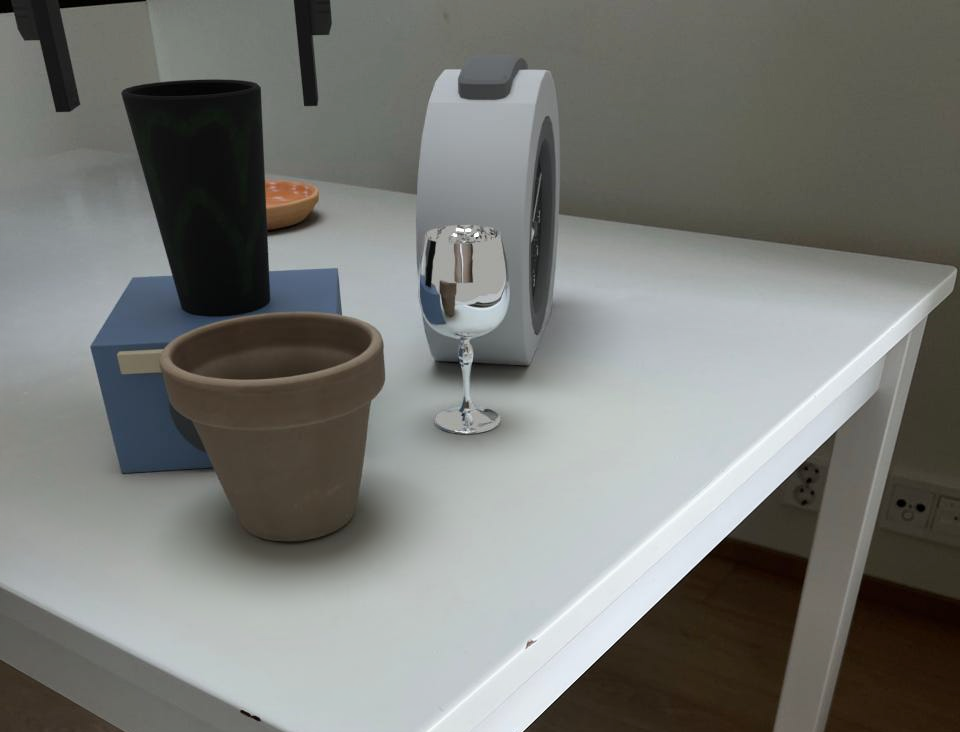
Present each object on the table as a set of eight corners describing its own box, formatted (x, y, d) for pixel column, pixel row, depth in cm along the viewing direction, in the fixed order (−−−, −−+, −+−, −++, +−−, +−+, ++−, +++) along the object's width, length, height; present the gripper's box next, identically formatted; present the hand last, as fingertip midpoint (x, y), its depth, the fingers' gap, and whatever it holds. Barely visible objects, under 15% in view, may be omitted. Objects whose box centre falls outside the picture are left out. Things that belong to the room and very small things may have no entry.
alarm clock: (521, 385, 72) (524, 73, 61) (421, 380, 74) (406, 72, 62) (556, 297, 89) (564, 41, 78) (475, 294, 91) (470, 40, 79)
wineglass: (446, 399, 70) (439, 219, 63) (522, 410, 69) (524, 226, 62) (410, 430, 66) (398, 241, 59) (491, 443, 64) (488, 249, 57)
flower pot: (194, 483, 60) (160, 316, 55) (380, 461, 62) (366, 298, 57) (193, 581, 51) (153, 393, 45) (412, 552, 53) (400, 368, 47)
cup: (280, 319, 60) (251, 95, 53) (152, 324, 60) (106, 98, 53) (291, 283, 66) (266, 77, 60) (175, 287, 66) (137, 80, 59)
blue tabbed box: (119, 477, 61) (87, 348, 57) (156, 389, 73) (132, 277, 68) (348, 463, 62) (336, 336, 58) (348, 378, 74) (337, 267, 69)
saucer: (156, 221, 116) (150, 193, 114) (273, 199, 125) (269, 173, 123) (227, 245, 106) (222, 216, 104) (348, 220, 115) (346, 192, 113)
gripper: (-228, -463, 40) (-58, 121, 53) (390, -449, 42) (413, 110, 55) (-153, -414, 46) (-17, 101, 59) (384, -403, 48) (406, 91, 61)
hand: (191, 106), depth 57 cm, fingers open, 13 cm apart
